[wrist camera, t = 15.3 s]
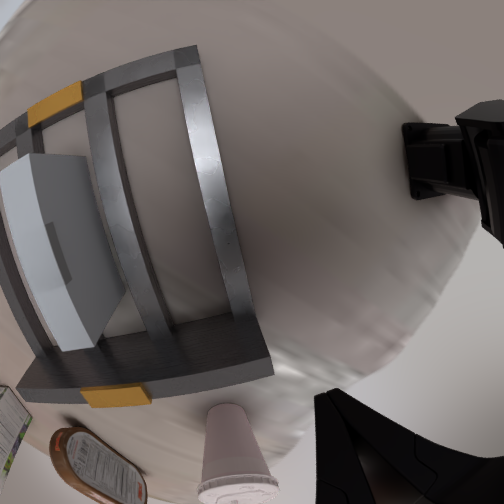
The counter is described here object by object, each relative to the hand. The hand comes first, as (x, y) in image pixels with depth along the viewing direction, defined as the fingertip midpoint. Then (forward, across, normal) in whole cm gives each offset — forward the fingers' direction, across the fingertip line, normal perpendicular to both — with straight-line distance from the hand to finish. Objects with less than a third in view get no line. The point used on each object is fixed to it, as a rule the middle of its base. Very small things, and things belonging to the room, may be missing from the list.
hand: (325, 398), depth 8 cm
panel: (+12, +11, -6) cm, 17 cm away
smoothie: (+12, +6, +14) cm, 20 cm away
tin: (+12, +23, +19) cm, 32 cm away
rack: (+12, +11, -6) cm, 17 cm away
